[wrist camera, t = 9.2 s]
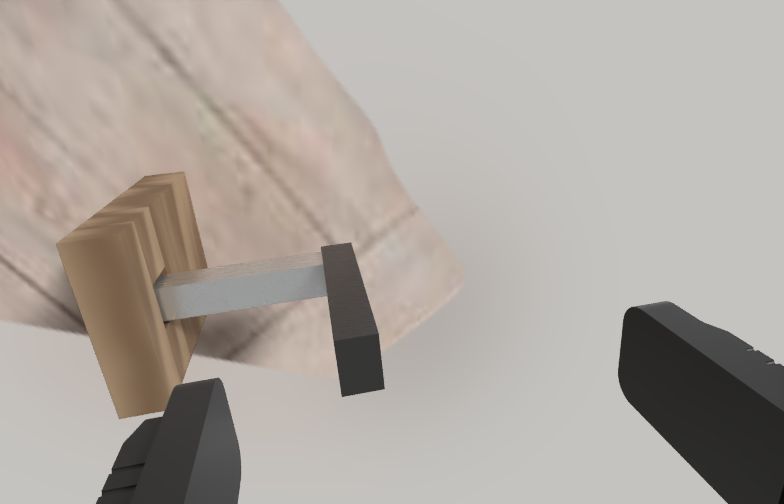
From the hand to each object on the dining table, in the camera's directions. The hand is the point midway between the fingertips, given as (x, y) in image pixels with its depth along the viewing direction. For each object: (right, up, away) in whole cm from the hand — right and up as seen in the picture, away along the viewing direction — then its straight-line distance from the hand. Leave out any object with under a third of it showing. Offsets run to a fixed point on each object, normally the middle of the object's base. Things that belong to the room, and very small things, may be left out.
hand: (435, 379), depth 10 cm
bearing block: (-19, +4, +32) cm, 37 cm away
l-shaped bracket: (-10, +1, +23) cm, 25 cm away
